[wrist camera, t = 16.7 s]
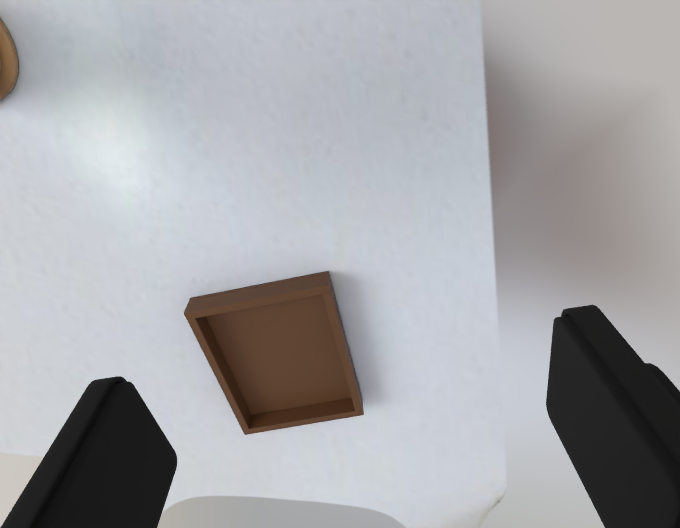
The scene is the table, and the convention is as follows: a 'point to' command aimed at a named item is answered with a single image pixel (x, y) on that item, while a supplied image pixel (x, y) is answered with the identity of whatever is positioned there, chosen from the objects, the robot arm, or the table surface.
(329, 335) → the tray
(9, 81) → the coaster
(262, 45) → the table surface
